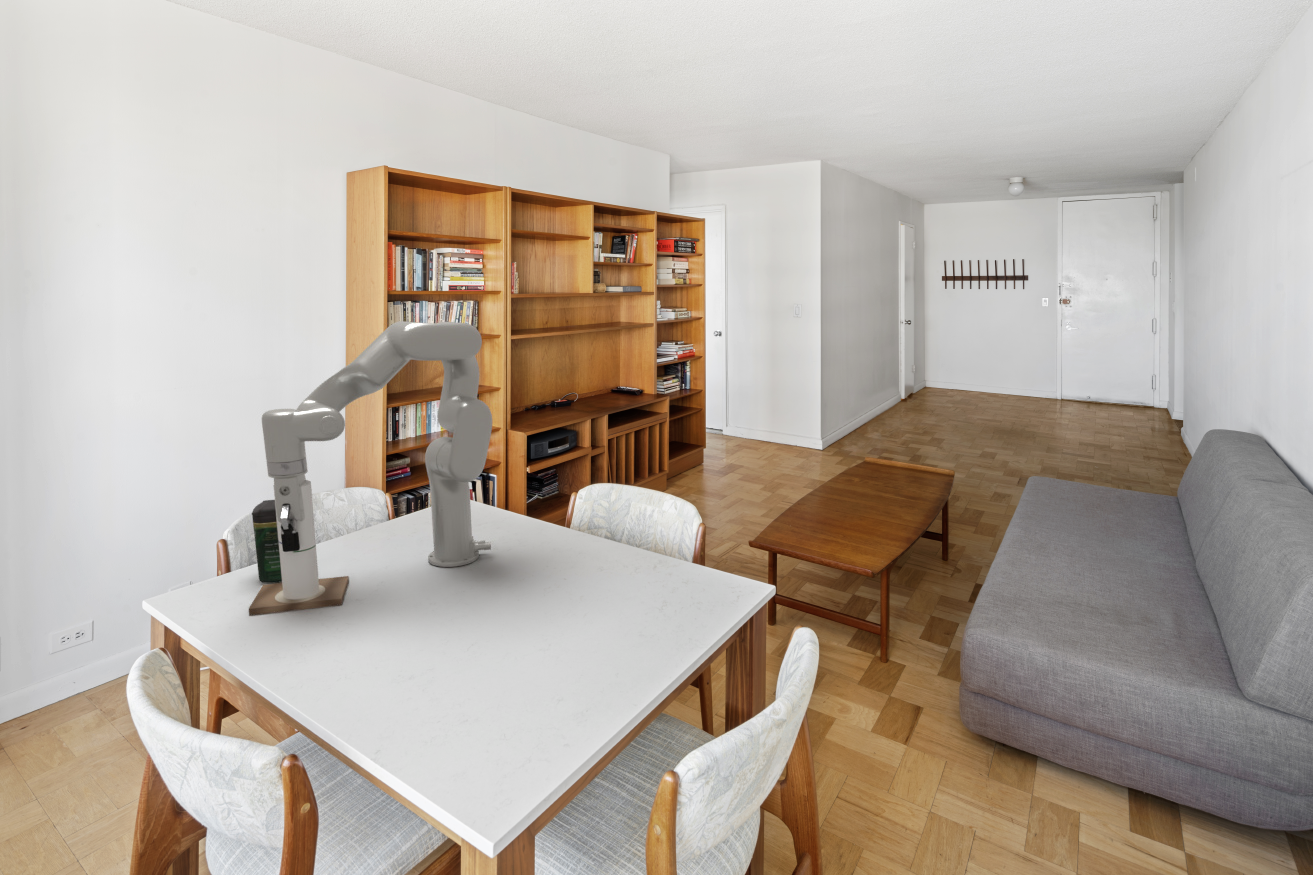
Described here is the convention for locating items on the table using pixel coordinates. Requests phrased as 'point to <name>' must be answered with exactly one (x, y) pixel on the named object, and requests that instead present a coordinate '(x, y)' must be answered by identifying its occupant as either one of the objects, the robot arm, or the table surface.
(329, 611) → the table surface
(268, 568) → the coffee jar
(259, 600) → the walnut board
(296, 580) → the cylindrical container
